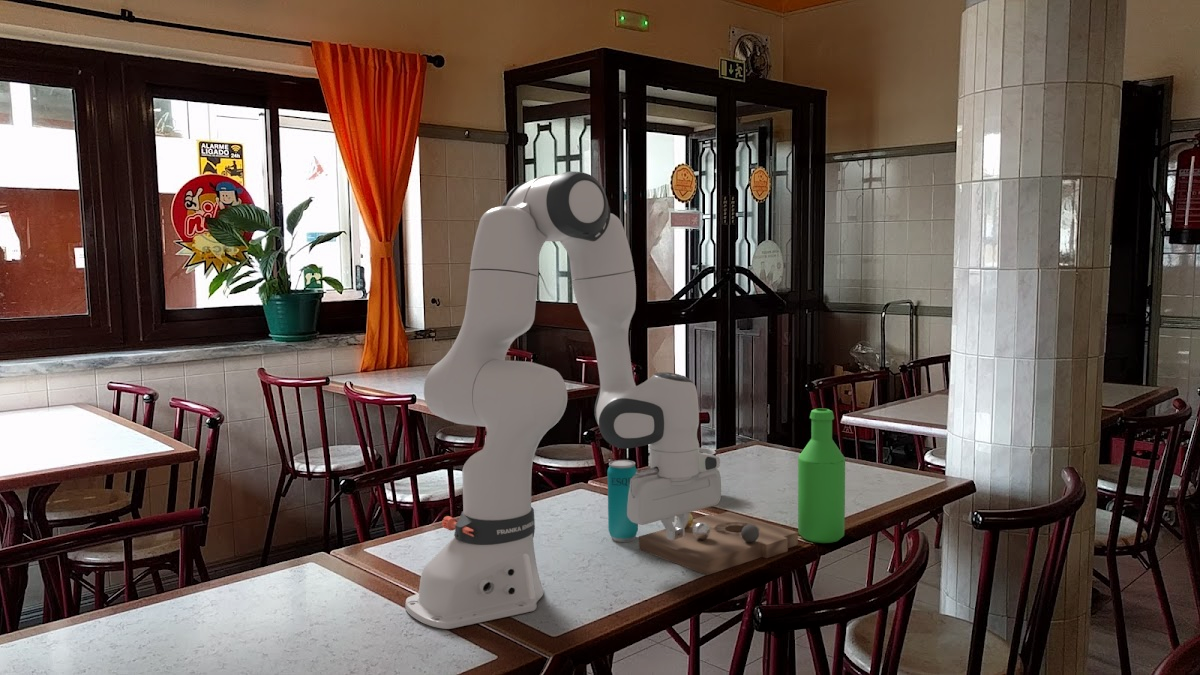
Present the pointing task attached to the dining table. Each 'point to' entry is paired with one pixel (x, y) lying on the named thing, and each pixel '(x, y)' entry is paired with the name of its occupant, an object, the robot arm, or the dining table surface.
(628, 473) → the beverage can
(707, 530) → the steel ball
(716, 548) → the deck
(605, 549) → the dining table surface
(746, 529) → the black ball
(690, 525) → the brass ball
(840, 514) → the bottle
